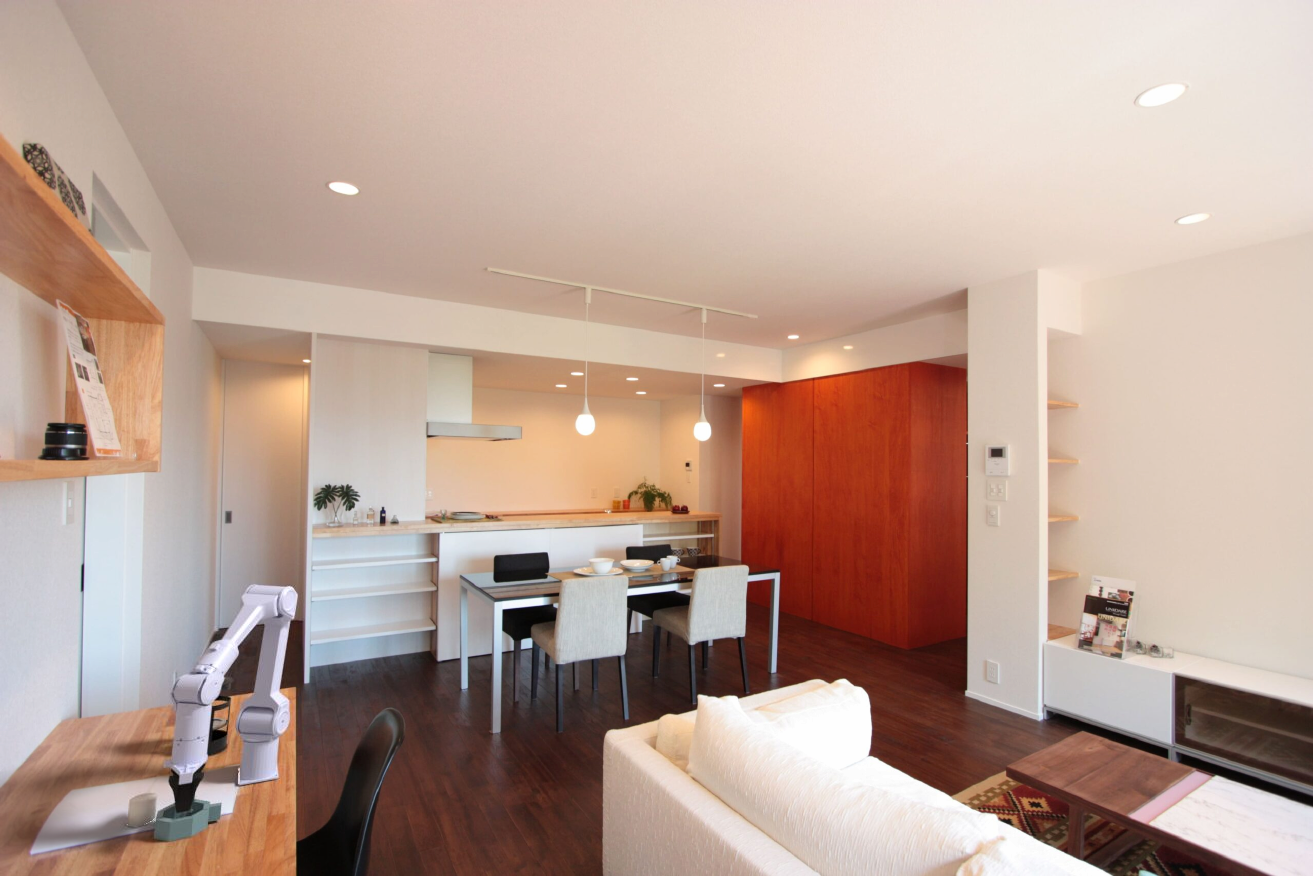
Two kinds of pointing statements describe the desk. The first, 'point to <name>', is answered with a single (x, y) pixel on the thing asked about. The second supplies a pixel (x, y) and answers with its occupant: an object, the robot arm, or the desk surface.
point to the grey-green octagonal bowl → (185, 820)
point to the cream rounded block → (142, 809)
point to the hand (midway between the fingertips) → (183, 807)
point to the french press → (219, 722)
